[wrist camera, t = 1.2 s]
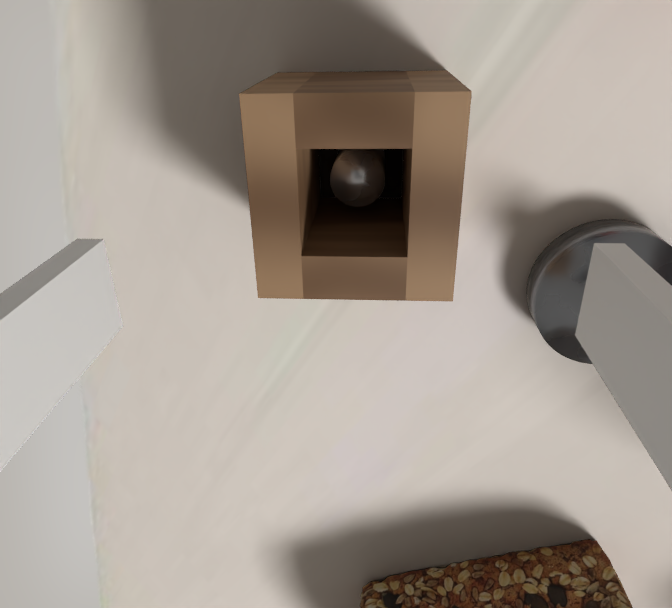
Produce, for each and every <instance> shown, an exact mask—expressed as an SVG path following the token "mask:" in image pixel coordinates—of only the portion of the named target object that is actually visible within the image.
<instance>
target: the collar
mask: <svg viewBox="0 0 672 608" xmlns="http://www.w3.org/2000/svg"><path fill="white" fill-rule="evenodd" d="M471 92H472V91H471V90H469V89H468V88H467V87H466V86H465V85H463V84H462V83H461V82H460V81H459V80H458V79H456V78H455V77H454V76H453V75H452V74H450V73H449V72H448V71H447V70H440V71H364V72H288V73H276V74H274V75H272V76H270V77H268V78H267V79H265V80H263V81H261V82H259V83H258V84H256V85H254V86H252V87H250V88H249V89H247V90H245V91H243V92H241V93H240V94H239V99H240V110H241V120H242V131H243V142H244V152H245V163H246V174H247V184H248V195H249V205H250V216H251V227H252V237H253V248H254V259H255V269H256V280H257V291H258V298H290V299H349V300H408V301H453V292H454V281H455V270H456V259H457V248H458V237H459V226H460V214H461V203H462V192H463V181H464V170H465V159H466V148H467V137H468V126H469V115H470V103H471ZM319 149H403V160H402V187H401V198H377V199H376V200H375V201H374V202H372V203H371V204H369V205H366V206H362V207H354V206H349V205H347V204H345V203H343V202H341V201H340V200H339V199H338V198H337V197H321V187H320V156H319Z"/></svg>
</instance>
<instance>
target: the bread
mask: <svg viewBox="0 0 672 608" xmlns="http://www.w3.org/2000/svg"><path fill="white" fill-rule="evenodd" d="M360 607H361V608H632V605H631V603H630V601H629V599H628V597H627V595H626V593H625V590H624V588H623V586H622V584H621V582H620V580H619V578H618V576H617V574H616V572H615V570H614V569H613V567H612V564H611V562H610V560H609V558H608V557H607V555H606V554H605V553H604V551H603V550H602V548H601V547H600V545H599V544H598V542H597V541H592V540H590V539H588V540H581V541H574V542H572V543H571V544H570V545H559V546H551V547H540V548H535V549H533V550H531V551H530V552H529V551H516V552H509V553H507V554H505V555H504V556H494V557H491V558H481V559H478V560H468V561H465V562H462V563H452V564H450V565H449V566H447V567H446V568H442V569H439V568H435V567H433V568H428V569H424V570H418V571H410V572H406V573H403V574H400V575H392V576H389V577H387V578H386V579H385V580H384V581H383V582H382V583H381V582H379V581H375V582H370V583H368V584H367V585H366V586H364V587H363V592H362V594H361V603H360Z"/></svg>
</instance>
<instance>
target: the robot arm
mask: <svg viewBox="0 0 672 608" xmlns="http://www.w3.org/2000/svg"><path fill="white" fill-rule="evenodd" d="M122 327H123V323H122V319H121V314H120V310H119V305H118V301H117V296H116V292H115V287H114V283H113V278H112V274H111V269H110V265H109V260H108V256H107V251H106V247H105V242H104V239H76V240H75V241H73V242H72V243H71V244H69V245H68V246H66V247H65V248H64V249H62V250H61V251H59V252H58V253H57V254H55V255H54V256H52V257H51V258H50V259H48V260H47V261H45V262H44V263H43V264H41V265H40V266H38V267H37V268H36V269H34V270H33V271H31V272H30V273H29V274H28V275H26V276H25V277H23V278H22V279H20V280H19V281H18V282H16V283H15V284H13V285H12V286H11V287H9V288H8V289H6V290H5V291H4V292H2V293H1V294H0V471H1V470H2V469H3V468H4V467H5V466H6V464H7V463H8V462H9V461H10V459H11V458H12V457H13V456H14V455H15V454H16V453H17V451H18V450H19V449H20V448H21V447H22V445H23V444H24V443H25V442H26V441H27V440H28V438H29V437H30V436H31V435H32V433H33V432H34V431H35V430H36V429H37V428H38V427H39V425H40V424H41V423H42V422H43V421H44V419H45V418H46V417H47V416H48V415H49V413H50V412H51V411H52V410H53V409H54V408H55V406H56V405H57V404H58V403H59V402H60V400H61V399H62V398H63V397H64V396H65V394H66V393H67V392H68V391H69V390H70V389H71V387H72V386H73V385H74V384H75V383H76V381H77V380H78V379H79V378H80V377H81V376H82V374H83V373H84V372H85V371H86V370H87V368H88V367H89V366H90V365H91V364H92V363H93V361H94V360H95V359H96V358H97V357H98V355H99V354H100V353H101V352H102V351H103V350H104V348H105V347H106V346H107V345H108V344H109V342H110V341H111V340H112V339H113V338H114V337H115V335H116V334H117V333H118V332H119V331H120V329H121V328H122ZM575 336H576V338H577V339H578V341H579V342H580V344H581V346H582V347H583V349H584V350H585V352H586V354H587V355H588V357H589V359H590V360H591V362H592V363H593V365H594V367H595V368H596V370H597V371H598V373H599V375H600V376H601V378H602V379H603V381H604V383H605V384H606V386H607V387H608V389H609V391H610V392H611V394H612V395H613V397H614V399H615V400H616V402H617V403H618V405H619V407H620V408H621V410H622V412H623V413H624V415H625V416H626V418H627V420H628V421H629V423H630V424H631V426H632V428H633V429H634V431H635V432H636V434H637V436H638V437H639V439H640V440H641V442H642V444H643V445H644V447H645V448H646V450H647V452H648V453H649V455H650V457H651V458H652V460H653V461H654V463H655V465H656V466H657V468H658V469H659V471H660V473H661V474H662V476H663V477H664V479H665V481H666V482H667V484H668V485H669V487H670V489H671V490H672V286H671V285H670V284H669V283H668V282H667V281H666V280H665V279H664V278H662V277H661V276H660V275H659V274H658V273H657V272H656V271H655V270H654V269H652V268H651V267H650V266H649V265H648V264H647V263H646V262H645V261H644V260H643V259H641V258H640V257H639V256H638V255H637V254H636V253H635V252H634V251H633V250H631V249H630V248H629V247H628V246H627V245H626V244H625V243H594V246H593V251H592V256H591V260H590V265H589V270H588V275H587V280H586V285H585V289H584V294H583V299H582V304H581V309H580V313H579V318H578V323H577V328H576V333H575Z"/></svg>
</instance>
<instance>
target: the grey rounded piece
mask: <svg viewBox="0 0 672 608" xmlns="http://www.w3.org/2000/svg"><path fill="white" fill-rule="evenodd" d="M330 184H331V188H332V191H333V193H334V194H335V196H336V197H337V198H338V199H339V200H340V201H341V202H343V203H345V204H347V205H349V206H354V207H362V206H366V205H369V204H371V203H372V202H374V201H375V200H376V199H377V198H378V197H379V196H380V195H381V193H382V191H383V189H384V185H385V154H384V149H338V152H337V155H336V158H335V161H334V165H333V168H332V171H331V175H330Z"/></svg>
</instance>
